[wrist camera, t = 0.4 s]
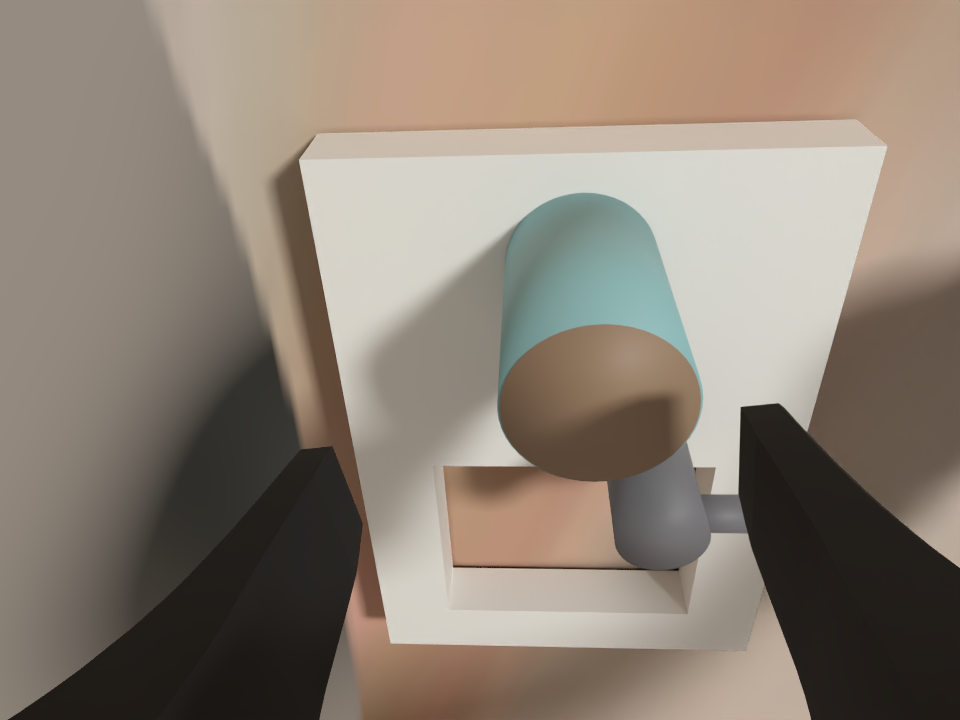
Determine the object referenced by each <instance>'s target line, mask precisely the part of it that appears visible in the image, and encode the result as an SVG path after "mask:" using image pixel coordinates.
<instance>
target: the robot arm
mask: <svg viewBox="0 0 960 720" xmlns="http://www.w3.org/2000/svg"><path fill="white" fill-rule="evenodd" d="M738 494H739V499H740V503H741V507H742V512H743V516H744V520H745V524H746V528H747V532H748V536H749V541H750V545H751V548H752V551H753V554H754V557H755V559H756V562H757V565H758V568H759V570H760V573H761V576H762V578H763V581H764V584H765V587H766V589H767V592H768V595H769V597H770V600H771V603H772V605H773V608H774V611H775V613H776V616H777V619H778V621H779V624H780V627H781V629H782V632H783V635H784V637H785V640H786V643H787V645H788V648H789V651H790V653H791V656H792V659H793V661H794V664H795V667H796V670H797V673H798V676H799V679H800V682H801V685H802V688H803V691H804V694H805V697H806V701H807V705H808V709H809V712H810V716H811V720H960V568H959V567H958V566H956V565H955V564H954V563H952V562H951V561H950V560H948V559H947V558H945V557H944V556H943V555H941V554H940V553H939V552H938V551H936V550H935V549H934V548H932V547H931V546H930V545H929V544H927V543H926V542H925V541H924V540H922V539H921V538H920V537H919V536H917V535H916V534H915V533H914V532H912V531H911V530H910V529H909V528H908V527H906V526H905V525H904V524H903V523H902V522H901V521H899V520H898V519H897V518H896V517H895V516H893V515H892V514H891V513H890V512H889V511H888V510H886V509H885V508H884V507H883V506H882V505H881V504H880V503H879V502H877V501H876V500H875V499H874V498H873V497H872V496H871V495H870V494H869V493H868V492H866V491H865V490H864V489H863V488H862V487H861V486H860V485H859V484H858V483H857V482H856V481H855V480H854V479H853V478H852V477H851V476H850V475H849V474H847V473H846V472H845V471H844V470H843V469H842V468H841V467H840V466H839V465H838V464H837V463H836V462H835V461H834V460H833V459H832V458H831V457H830V456H829V455H828V454H827V453H826V452H825V451H824V450H823V449H822V448H821V447H820V446H819V445H818V443H817V442H816V441H815V440H814V439H813V438H812V437H811V436H810V435H809V434H808V433H807V432H806V431H805V430H804V429H803V427H802V426H801V425H800V424H799V423H798V422H797V421H796V420H795V419H794V418H793V416H792V415H791V414H790V413H789V412H788V411H787V410H786V409H785V408H784V407H783V406H782V405H780V404H779V403H775V404H764V405H754V406H744V407H741V411H740V448H739V486H738ZM362 524H363V523H362V521H361V518H360V516H359V513H358V511H357V508H356V505H355V503H354V500H353V498H352V495H351V493H350V490H349V488H348V485H347V482H346V480H345V477H344V475H343V472H342V470H341V467H340V465H339V462H338V459H337V457H336V454H335V452H334V449H333V447H322V448H312V449H301V450H300V451H299V453H298V454H297V455H296V456H295V457H294V458H293V459H292V460H291V461H290V463H289V464H288V465H287V466H286V467H285V468H284V470H283V471H282V472H281V473H280V474H279V476H278V477H277V478H276V479H275V481H274V482H273V483H272V484H271V485H270V486H269V487H268V489H267V490H266V491H265V492H264V493H263V495H262V496H261V497H260V498H259V500H257V502H256V503H255V504H254V505H253V506H252V507H251V509H250V510H249V511H248V512H247V513H246V514H245V515H244V517H243V518H242V519H241V520H240V521H239V522H238V523H237V525H236V526H235V527H234V528H233V529H232V530H231V531H230V533H229V534H228V535H227V536H226V537H225V538H224V539H223V540H222V541H221V542H220V543H219V544H218V545H217V547H216V548H215V549H214V550H213V551H212V552H211V553H210V554H209V555H208V556H207V557H206V558H205V559H204V560H203V561H202V562H201V563H200V564H199V565H198V566H197V568H196V569H195V570H194V571H193V572H192V573H191V574H190V575H189V576H188V577H187V578H186V579H185V580H184V581H183V582H182V583H181V584H180V585H179V586H178V587H177V588H176V589H175V590H174V591H173V592H171V593H170V594H169V595H168V596H167V597H166V598H165V599H164V600H163V601H162V602H161V603H160V604H159V605H157V606H156V607H155V608H154V609H153V610H152V611H151V612H150V613H148V614H147V615H146V616H145V617H144V618H143V619H142V620H141V621H140V622H138V623H137V624H136V625H135V626H134V627H133V628H131V629H130V630H129V631H128V632H127V633H125V634H124V635H123V636H121V637H120V638H119V639H118V640H116V641H115V642H114V643H113V644H111V645H110V646H109V647H108V648H106V649H105V650H104V651H103V652H101V653H100V654H99V655H98V656H96V657H95V658H94V659H93V660H91V661H90V662H89V663H88V664H86V665H85V666H84V667H83V668H81V669H80V670H79V671H77V672H76V673H75V674H73V675H72V676H70V677H69V678H68V679H67V680H65V681H64V682H62V683H61V684H60V685H58V686H57V687H55V688H54V689H53V690H51V691H50V692H48V693H47V694H45V695H44V696H43V697H41V698H40V699H38V700H37V701H35V702H34V703H32V704H31V705H29V706H28V707H26V708H25V709H24V710H22V711H21V712H19V713H18V714H16V715H15V716H13V717H11V718H10V719H8V720H319V718H320V713H321V709H322V704H323V700H324V695H325V691H326V686H327V683H328V679H329V675H330V672H331V668H332V664H333V661H334V657H335V653H336V649H337V645H338V642H339V638H340V634H341V631H342V627H343V623H344V620H345V616H346V612H347V608H348V604H349V601H350V597H351V593H352V589H353V585H354V581H355V577H356V572H357V565H358V558H359V550H360V542H361V533H362Z"/></svg>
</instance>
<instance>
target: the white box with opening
mask: <svg viewBox="0 0 960 720" xmlns="http://www.w3.org/2000/svg"><path fill="white" fill-rule="evenodd" d="M886 150H887V145H886V144H885V143H884V142H882V141H881V140H880V139H879V138H878V137H876V136H875V135H874V134H873V133H872V132H870V131H869V130H868V129H867V128H866V127H865V126H863V125H862V124H861V123H860V122H859V121H857V120H856V119H854V120H815V121H777V122H739V123H701V124H663V125H625V126H587V127H549V128H511V129H473V130H435V131H397V132H359V133H321V134H317V135H316V137H315V138H314V140H313V141H312V142H311V144H310V145H309V147H308V148H307V149H306V151H305V152H304V153H303V155H302V156H301V158H300V159H299V163H300V169H301V174H302V179H303V184H304V190H305V195H306V200H307V205H308V211H309V216H310V221H311V226H312V232H313V237H314V242H315V247H316V253H317V258H318V263H319V269H320V274H321V279H322V284H323V290H324V295H325V300H326V305H327V311H328V316H329V321H330V326H331V332H332V337H333V342H334V347H335V353H336V358H337V363H338V368H339V374H340V379H341V384H342V390H343V395H344V400H345V405H346V411H347V416H348V421H349V426H350V432H351V437H352V442H353V447H354V453H355V458H356V463H357V468H358V474H359V479H360V484H361V490H362V495H363V500H364V505H365V511H366V516H367V521H368V526H369V532H370V537H371V542H372V547H373V553H374V558H375V563H376V568H377V574H378V579H379V584H380V589H381V595H382V600H383V605H384V611H385V616H386V621H387V626H388V632H389V637H390V642H391V643H400V644H446V645H492V646H538V647H584V648H630V649H676V650H722V651H746V649H747V645H748V642H749V638H750V634H751V631H752V627H753V624H754V620H755V617H756V613H757V609H758V606H759V602H760V599H761V595H762V592H763V588H764V581H763V578H762V576H761V573H760V570H759V568H758V565H757V562H756V559H755V557H754V554H753V551H752V548H751V545H750V541H749V536H748V532H747V528H746V524H745V520H744V516H743V512H742V507H741V503H740V499H739V494H738V486H739V448H740V411H741V407H744V406H754V405H764V404H775V403H779V404H780V405H782V406H783V407H784V408H785V409H786V410H787V411H788V412H789V413H790V414H791V415H792V416H793V418H794V419H795V420H796V421H797V422H798V423H799V424H800V425H801V426H802V427H803V429H804V430H805V431H806V432H807V431H808V428H809V424H810V420H811V417H812V413H813V410H814V406H815V403H816V399H817V396H818V392H819V388H820V385H821V381H822V378H823V374H824V371H825V367H826V363H827V360H828V356H829V353H830V349H831V346H832V342H833V339H834V335H835V331H836V328H837V324H838V321H839V317H840V314H841V310H842V306H843V303H844V299H845V296H846V292H847V289H848V285H849V281H850V278H851V274H852V271H853V267H854V264H855V260H856V257H857V253H858V249H859V246H860V242H861V239H862V235H863V232H864V228H865V224H866V221H867V217H868V214H869V210H870V207H871V203H872V199H873V196H874V192H875V189H876V185H877V182H878V178H879V175H880V171H881V167H882V164H883V160H884V157H885V153H886ZM573 193H597V194H603V195H607V196H610V197H613V198H616V199H618V200H620V201H623V202H624V203H626V204H628V205H629V206H631V207H632V208H633V209H635V210H636V211H637V212H638V213H639V214H640V215H641V216H642V217H643V218H644V219H645V220H646V222H647V223H648V225H649V227H650V228H651V230H652V232H653V235H654V237H655V240H656V243H657V246H658V249H659V252H660V255H661V258H662V261H663V265H664V268H665V271H666V274H667V277H668V280H669V283H670V286H671V289H672V293H673V296H674V299H675V302H676V305H677V308H678V311H679V314H680V317H681V321H682V324H683V327H684V330H685V333H686V336H687V339H688V342H689V345H690V348H691V352H692V355H693V358H694V361H695V364H696V367H697V370H698V373H699V376H700V380H701V384H702V389H703V407H702V412H701V416H700V419H699V421H698V424H697V426H696V428H695V430H694V432H693V433H692V435H691V436H690V438H689V439H688V440H687V442H686V443H685V444H684V445H683V446H682V447H681V448H680V449H679V450H678V451H677V452H676V453H675V454H674V455H673V456H671V457H670V458H669V459H667V460H666V461H665V462H663V463H661V464H659V465H658V466H656V467H654V468H652V469H650V470H648V471H645V472H643V473H640V474H637V475H634V476H631V477H627V478H623V479H618V480H611V481H607V483H608V491H609V499H610V507H611V515H612V523H613V531H614V539H615V546H616V549H617V551H618V553H619V554H620V555H621V557H622V558H623V559H625V560H626V561H627V562H629V563H630V564H632V565H634V566H637V567H640V568H644V569H649V570H583V569H515V568H453V563H452V553H451V542H450V532H449V522H448V512H447V502H446V492H445V481H444V471H443V466H530V467H536V466H534V465H533V464H531V463H530V462H528V461H527V460H525V459H524V458H523V457H522V456H521V455H520V454H518V452H517V451H516V450H515V449H514V448H513V447H512V446H511V444H510V443H509V442H508V440H507V439H506V437H505V435H504V433H503V431H502V429H501V426H500V422H499V419H498V412H497V399H498V380H499V362H500V343H501V325H502V307H503V288H504V270H505V255H506V250H507V246H508V243H509V241H510V238H511V236H512V234H513V232H514V231H515V229H516V228H517V226H518V225H519V223H520V222H521V221H522V220H523V219H524V218H525V217H526V216H527V215H528V214H529V213H530V212H532V211H533V210H534V209H535V208H537V207H539V206H540V205H542V204H543V203H545V202H547V201H549V200H552V199H554V198H557V197H560V196H563V195H568V194H573ZM694 467H696V473H695V471H694ZM675 568H679V571H652V570H670V569H675Z"/></svg>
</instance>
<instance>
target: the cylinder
mask: <svg viewBox="0 0 960 720" xmlns="http://www.w3.org/2000/svg"><path fill="white" fill-rule="evenodd" d="M702 407H703V389H702V384H701V380H700V376H699V373H698V370H697V367H696V364H695V361H694V358H693V355H692V352H691V348H690V345H689V342H688V339H687V336H686V333H685V330H684V327H683V324H682V321H681V317H680V314H679V311H678V308H677V305H676V302H675V299H674V296H673V293H672V289H671V286H670V283H669V280H668V277H667V274H666V271H665V268H664V265H663V261H662V258H661V255H660V252H659V249H658V246H657V243H656V240H655V237H654V235H653V232H652V230H651V228H650V227H649V225H648V223H647V222H646V220H645V219H644V218H643V217H642V216H641V215H640V214H639V213H638V212H637V211H636V210H635V209H633V208H632V207H631V206H629V205H628V204H626V203H624V202H623V201H620V200H618V199H616V198H613V197H610V196H607V195H603V194H597V193H573V194H568V195H563V196H560V197H557V198H554V199H552V200H549V201H547V202H545V203H543V204H542V205H540V206H539V207H537V208H535V209H534V210H533V211H532V212H530V213H529V214H528V215H527V216H526V217H525V218H524V219H523V220H522V221H521V222H520V223H519V225H518V226H517V228H516V229H515V231H514V232H513V234H512V236H511V238H510V241H509V243H508V246H507V250H506V255H505V270H504V288H503V307H502V325H501V343H500V362H499V380H498V399H497V412H498V419H499V422H500V426H501V429H502V431H503V433H504V435H505V437H506V439H507V440H508V442H509V443H510V444H511V446H512V447H513V448H514V449H515V450H516V451H517V452H518V454H520V455H521V456H522V457H523V458H524V459H525V460H527V461H528V462H530V463H531V464H533V465H534V466H536V467H538V468H540V469H542V470H544V471H546V472H548V473H551V474H553V475H556V476H559V477H563V478H567V479H572V480H579V481H593V482H596V481H611V480H618V479H623V478H627V477H631V476H634V475H637V474H640V473H643V472H645V471H648V470H650V469H652V468H654V467H656V466H658V465H659V464H661V463H663V462H665V461H666V460H667V459H669V458H670V457H671V456H673V455H674V454H675V453H676V452H677V451H678V450H679V449H680V448H681V447H682V446H683V445H684V444H685V443H686V442H687V440H688V439H689V438H690V436H691V435H692V433H693V432H694V430H695V428H696V426H697V424H698V421H699V419H700V416H701V412H702Z"/></svg>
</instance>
